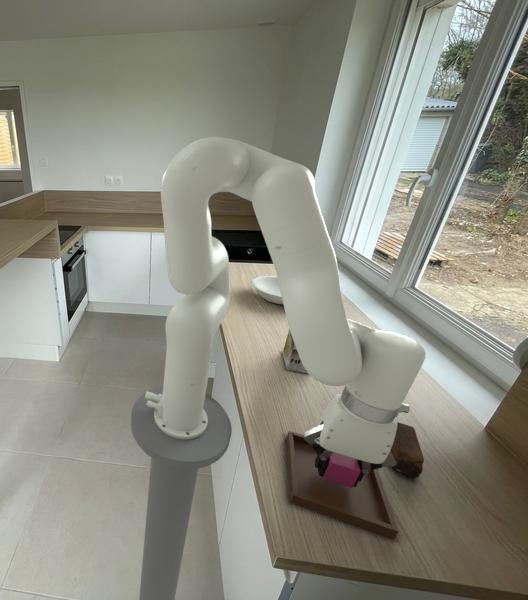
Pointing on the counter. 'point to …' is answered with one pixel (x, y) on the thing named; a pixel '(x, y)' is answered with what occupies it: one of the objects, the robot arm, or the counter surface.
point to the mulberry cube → (342, 470)
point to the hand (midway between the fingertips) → (335, 474)
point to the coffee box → (292, 355)
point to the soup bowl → (268, 288)
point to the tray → (337, 492)
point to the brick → (407, 451)
